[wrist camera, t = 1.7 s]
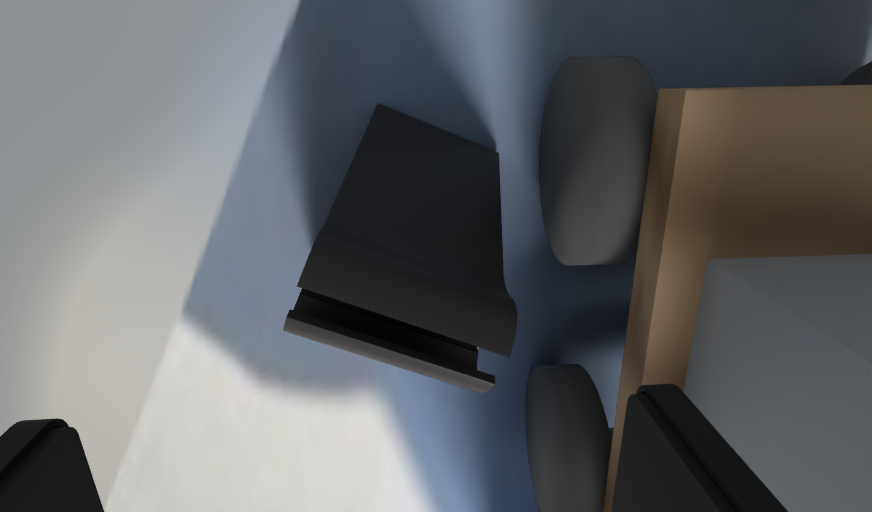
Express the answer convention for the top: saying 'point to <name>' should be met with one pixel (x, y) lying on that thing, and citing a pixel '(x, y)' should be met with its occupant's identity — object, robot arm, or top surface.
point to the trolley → (716, 274)
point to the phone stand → (412, 256)
